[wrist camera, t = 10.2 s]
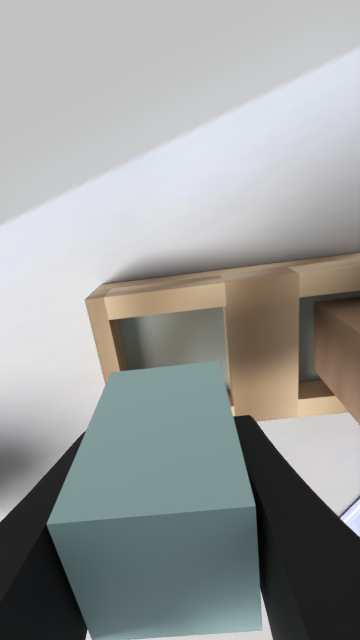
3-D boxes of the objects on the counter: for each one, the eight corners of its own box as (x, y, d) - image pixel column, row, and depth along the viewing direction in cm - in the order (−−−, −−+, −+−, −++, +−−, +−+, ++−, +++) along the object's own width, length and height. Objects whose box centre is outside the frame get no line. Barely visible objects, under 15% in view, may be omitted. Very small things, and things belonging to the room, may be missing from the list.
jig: (477, 237, 14) (542, 244, 12) (450, 368, 17) (499, 397, 14) (101, 284, 15) (84, 299, 12) (126, 402, 17) (117, 435, 15)
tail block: (218, 360, 10) (255, 505, 5) (226, 447, 11) (262, 630, 6) (111, 372, 10) (46, 524, 5) (130, 456, 11) (92, 641, 6)
